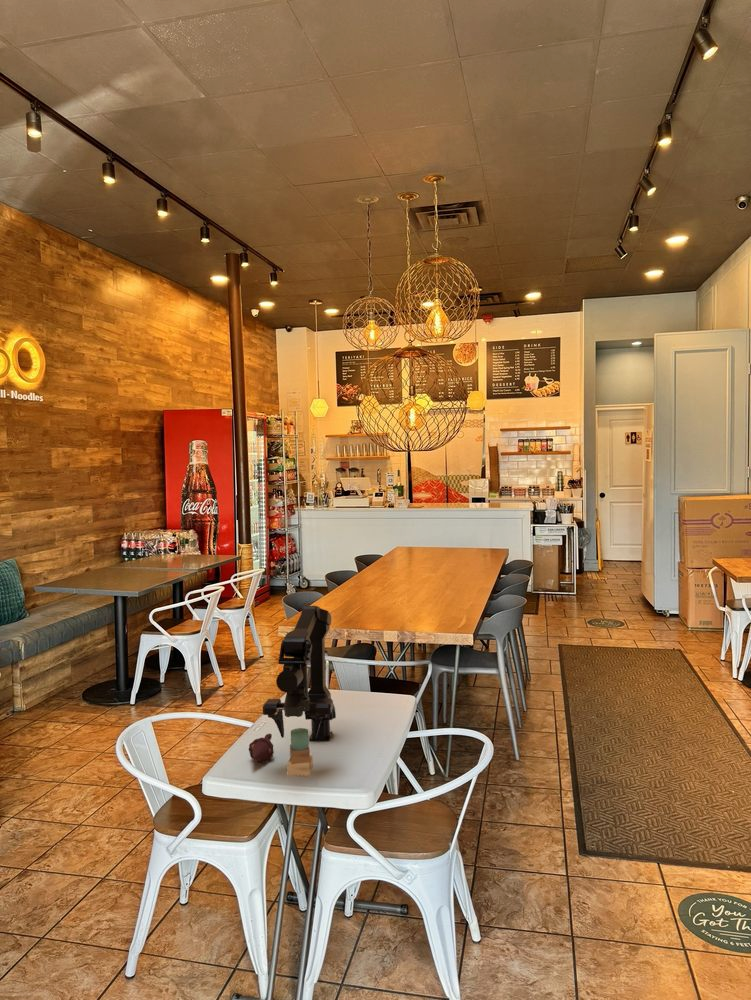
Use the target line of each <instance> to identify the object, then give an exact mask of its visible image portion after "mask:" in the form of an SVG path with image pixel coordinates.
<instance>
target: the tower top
mask: <svg viewBox="0 0 751 1000" xmlns="http://www.w3.org/2000/svg"><path fill="white" fill-rule="evenodd" d="M310 752H311V751H310V746H309V747H308V748H307V749H305V750H301V751H296V750H293V749H291V744H289V757H290V758H291V764H298V763H307V762H310V755H311V754H310ZM290 758H289V759H290Z"/></svg>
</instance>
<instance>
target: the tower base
mask: <svg viewBox="0 0 751 1000" xmlns="http://www.w3.org/2000/svg"><path fill="white" fill-rule="evenodd" d="M313 768H314V755H313V754H310V762H307V763H298V764H291V758H289V759H288V761H287V763H286V774H287V776H293V775H294V776H296V775H297V776H296V777H298V776H299V775H301V776H302V777H303V775H304V776H305V777H306V776H307V775H308V776H310V774H311V772H312V770H313ZM308 776H307V777H308ZM299 777H300V776H299Z"/></svg>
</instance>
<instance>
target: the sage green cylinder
mask: <svg viewBox="0 0 751 1000" xmlns="http://www.w3.org/2000/svg"><path fill="white" fill-rule="evenodd" d="M309 741H310V740H309V729H308V728H303V727H298V728H297V727H296V728H294V729H291V731H290V745H291V749H293V750H296V751H301V750H305V749H307V748H308V747H309V748H310V745H309V744H310V743H309Z"/></svg>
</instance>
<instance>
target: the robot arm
mask: <svg viewBox="0 0 751 1000" xmlns="http://www.w3.org/2000/svg"><path fill="white" fill-rule="evenodd" d="M300 612H301V614H300V615H299V618H298V620H297V622H296V625H295V627H294V628H293V629H292V630H290V631H289V632H287V633H286V634H285V636H284V638H283V639H282V640H281V644H280V650H279V655H278V663H277V664H278V665H283V667H282V671H281V672H279V674H278V675H277V676H276V680H275V683H276V686H277V688H278V690H280V691H281V692H283V693H285V697H284V702H282V701H281V700H282V699H281V698H267V699H266V701H265V702H264V704H263V705H262V715H264V716H267V717H268V718H269V719H272V720H273V721H274V724H276V726H277V729H278V732H279V734H280V737H281V738H284V737H285V728H284V726H285V725H284V724H285V723H284V716H285V717H286V718H290V717H296V718H300V717H302V716H303V714H304V716H305V718H304V719H305V720H307V721H308V720H310V722H311V723H310V724H311V725H310V726H311V734H310V735H309V737H308V740H309V741H313V742H314V741H315V742H317V741H319V742H320V741H322V742H324V741H327V742H329V741H331V739H332V736H333V732H334V731H331V723H330V722H331V721H332V720H335V719H336V718H337V717H336V715H337V714H336V708H335V705H334V700H333V699H332V696H331V695H332V694H331V692H330V690H329V688H328V687H327V685H326V651H325V649H326V646H325V645H326V643H325V642H326V640H325V638H326V636H327V635H328V633H329V631H330V628H331V627H330V626H331V624H332V615H331V613H330V611H328V610H326V609H324V608H321V607H320V606H317V605H305V606H302V607H301V611H300ZM309 661H310V666H309V667H310V688H309V682H308V663H309ZM283 711H284V712H283ZM283 714H284V715H283Z"/></svg>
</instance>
